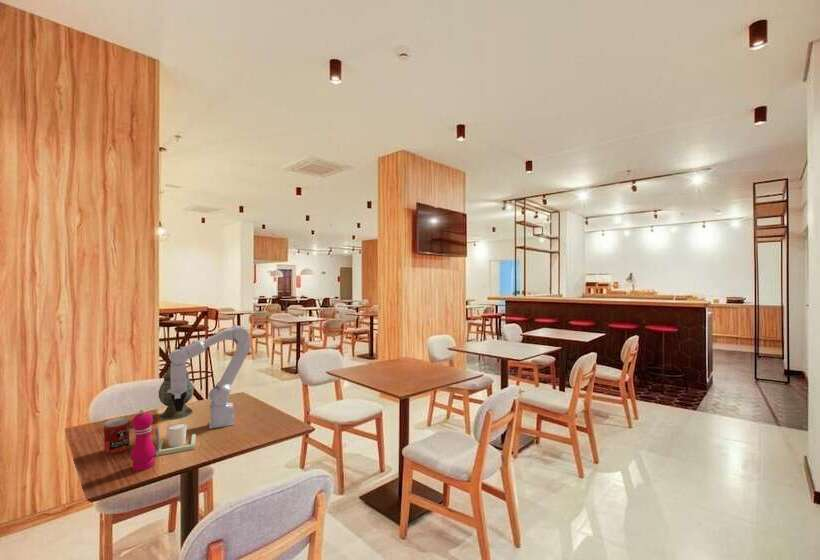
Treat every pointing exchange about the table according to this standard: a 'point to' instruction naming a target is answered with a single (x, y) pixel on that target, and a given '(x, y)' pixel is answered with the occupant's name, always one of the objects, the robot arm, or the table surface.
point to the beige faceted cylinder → (176, 434)
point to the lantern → (166, 400)
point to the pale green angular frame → (171, 450)
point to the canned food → (116, 435)
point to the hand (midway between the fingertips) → (179, 411)
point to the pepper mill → (142, 442)
